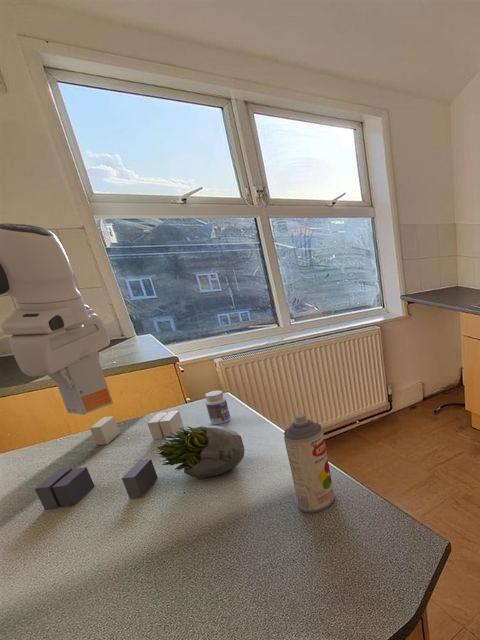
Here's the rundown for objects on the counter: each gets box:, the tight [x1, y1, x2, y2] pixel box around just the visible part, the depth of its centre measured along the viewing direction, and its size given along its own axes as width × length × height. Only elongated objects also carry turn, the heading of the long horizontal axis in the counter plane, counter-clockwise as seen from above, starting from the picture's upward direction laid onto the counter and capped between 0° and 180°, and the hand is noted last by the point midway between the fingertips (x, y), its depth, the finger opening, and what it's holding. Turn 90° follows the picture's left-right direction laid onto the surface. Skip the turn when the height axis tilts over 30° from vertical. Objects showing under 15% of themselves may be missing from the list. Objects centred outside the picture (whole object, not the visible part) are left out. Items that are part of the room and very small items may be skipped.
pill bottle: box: [204, 390, 231, 425], centre depth 119 cm, size 5×5×8 cm
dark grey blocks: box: [34, 458, 159, 510], centre depth 89 cm, size 16×7×5 cm, turn 105°
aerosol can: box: [283, 413, 336, 514], centre depth 85 cm, size 7×7×20 cm
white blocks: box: [89, 410, 185, 446], centre depth 111 cm, size 17×6×5 cm, turn 105°
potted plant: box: [156, 424, 245, 479], centre depth 95 cm, size 12×13×15 cm
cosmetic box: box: [55, 350, 114, 416], centre depth 88 cm, size 6×4×12 cm
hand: (81, 380), depth 88 cm, fingers closed on cosmetic box, 7 cm apart
